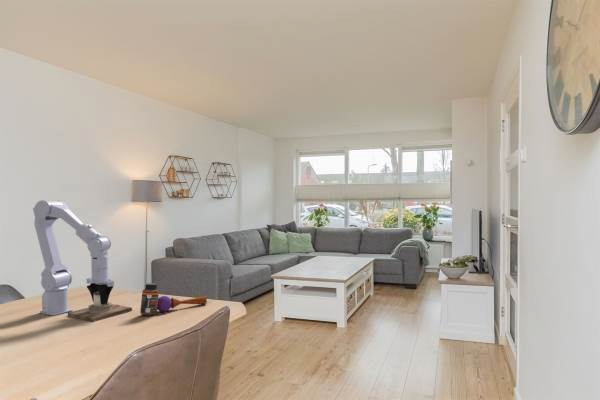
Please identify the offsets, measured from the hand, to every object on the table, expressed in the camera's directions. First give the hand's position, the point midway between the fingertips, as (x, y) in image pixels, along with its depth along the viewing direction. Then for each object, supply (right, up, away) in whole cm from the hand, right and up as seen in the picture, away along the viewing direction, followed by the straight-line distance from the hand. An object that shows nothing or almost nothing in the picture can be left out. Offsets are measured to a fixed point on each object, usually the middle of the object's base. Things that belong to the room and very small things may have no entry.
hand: (100, 303), depth 153 cm
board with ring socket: (0, -4, 0) cm, 4 cm away
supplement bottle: (+20, -3, -4) cm, 21 cm away
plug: (0, -2, 0) cm, 2 cm away
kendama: (+30, -4, +5) cm, 31 cm away
